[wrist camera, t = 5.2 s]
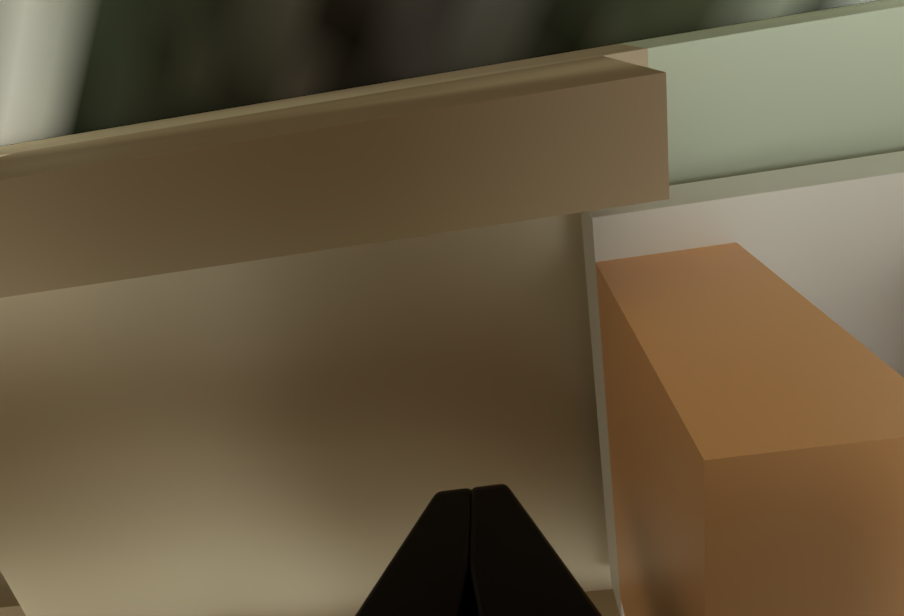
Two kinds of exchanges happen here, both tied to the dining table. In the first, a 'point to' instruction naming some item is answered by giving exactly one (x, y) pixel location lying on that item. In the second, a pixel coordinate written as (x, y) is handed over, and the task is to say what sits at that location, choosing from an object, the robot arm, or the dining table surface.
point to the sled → (754, 392)
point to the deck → (360, 308)
